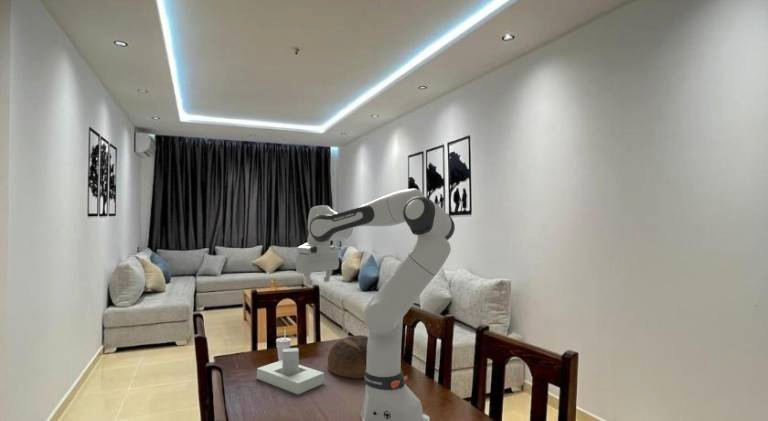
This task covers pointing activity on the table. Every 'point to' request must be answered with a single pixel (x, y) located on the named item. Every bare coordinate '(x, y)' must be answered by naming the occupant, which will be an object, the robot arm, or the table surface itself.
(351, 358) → the bread
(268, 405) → the table surface
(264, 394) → the table surface
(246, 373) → the table surface
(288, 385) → the white rectangular holder
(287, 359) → the skincare box
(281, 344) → the smoothie
